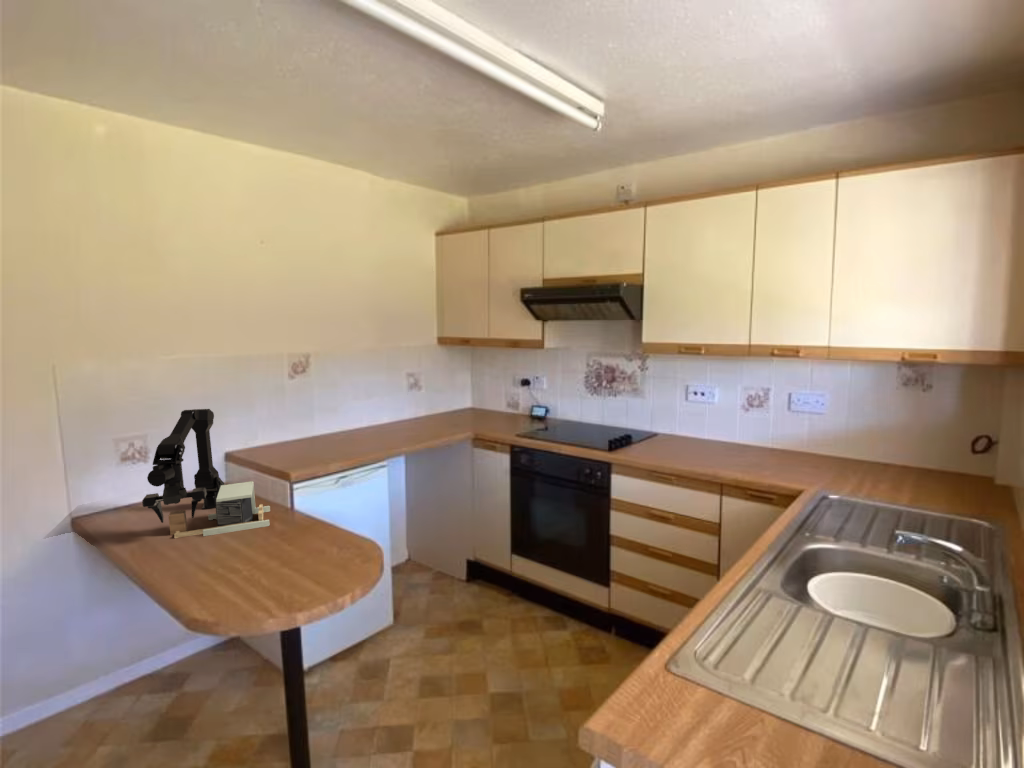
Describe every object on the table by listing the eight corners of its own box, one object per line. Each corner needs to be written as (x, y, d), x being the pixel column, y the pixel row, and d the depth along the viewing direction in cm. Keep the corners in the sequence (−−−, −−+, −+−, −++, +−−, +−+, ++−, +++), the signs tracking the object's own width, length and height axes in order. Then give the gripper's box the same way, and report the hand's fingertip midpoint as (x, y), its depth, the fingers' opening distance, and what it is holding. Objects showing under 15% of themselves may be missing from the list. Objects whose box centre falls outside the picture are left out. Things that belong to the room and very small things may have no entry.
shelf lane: (209, 519, 205) (205, 487, 203) (270, 510, 213) (267, 479, 211) (203, 536, 189) (199, 501, 188) (269, 525, 197) (266, 492, 196)
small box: (254, 520, 203) (251, 492, 202) (244, 526, 197) (241, 498, 196) (227, 519, 204) (224, 492, 203) (216, 526, 198) (213, 498, 197)
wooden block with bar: (174, 527, 198) (172, 508, 197) (263, 514, 209) (262, 496, 208) (168, 539, 187) (166, 519, 186) (262, 524, 199) (261, 506, 198)
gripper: (136, 487, 180) (141, 533, 182) (200, 480, 187) (205, 523, 189) (143, 478, 190) (148, 521, 192) (204, 471, 198) (208, 513, 200)
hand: (177, 520), depth 193 cm, fingers open, 9 cm apart
